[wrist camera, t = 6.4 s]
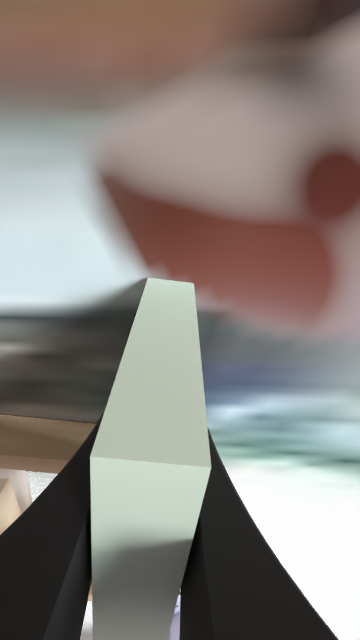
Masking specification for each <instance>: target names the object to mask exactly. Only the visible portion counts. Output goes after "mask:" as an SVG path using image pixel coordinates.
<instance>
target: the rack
mask: <svg viewBox="0 0 360 640" xmlns="http://www.w3.org/2000/svg"><path fill="white" fill-rule="evenodd" d="M95 425H96V424H94V423H83V422H73V421H63V420H53V419H42V418H32V417H22V416H11V415H1V414H0V468H1V469H13V470H24V471H35V472H46V473H58V474H59V472H60V471H61V470H62V469H63V468H64V467H65V465H66V464H67V463H68V462H69V460H70V459H71V458H72V457H73V455H74V454H75V453H76V451H77V450H78V449H79V448H80V446H81V445H82V444H83V442H84V441H85V440H86V438H87V437H88V435H89V434H90V433H91V431H92V430H93V428H94V427H95ZM88 601H92V581H91V586H90V591H89V596H88Z"/></svg>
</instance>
